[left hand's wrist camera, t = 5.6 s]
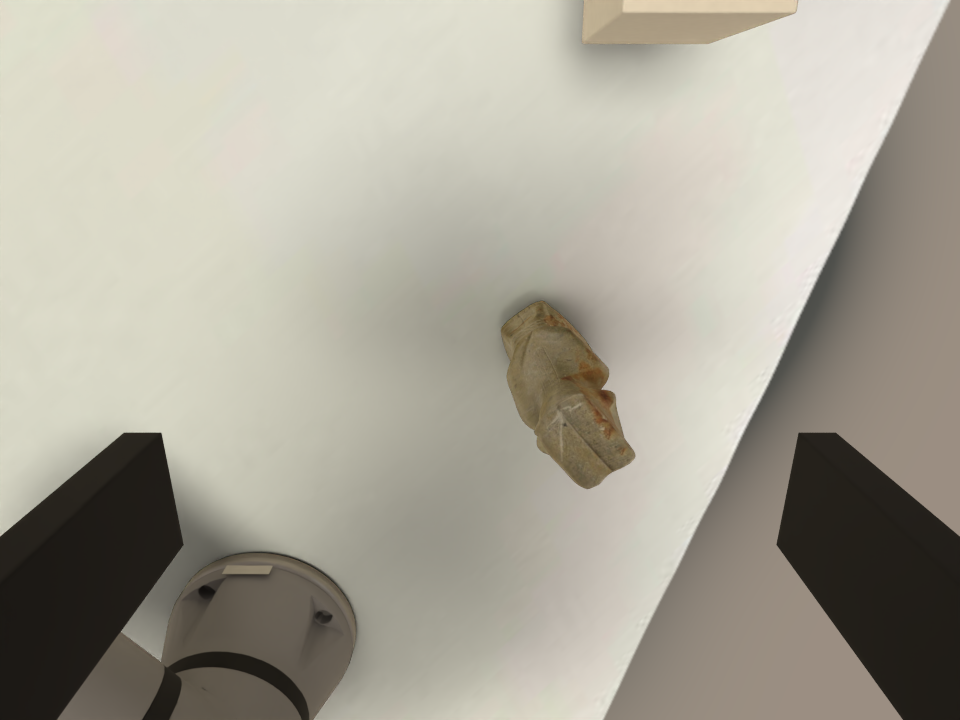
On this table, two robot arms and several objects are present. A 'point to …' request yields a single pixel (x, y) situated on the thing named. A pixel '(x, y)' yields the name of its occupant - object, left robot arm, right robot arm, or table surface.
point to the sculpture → (564, 395)
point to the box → (676, 20)
